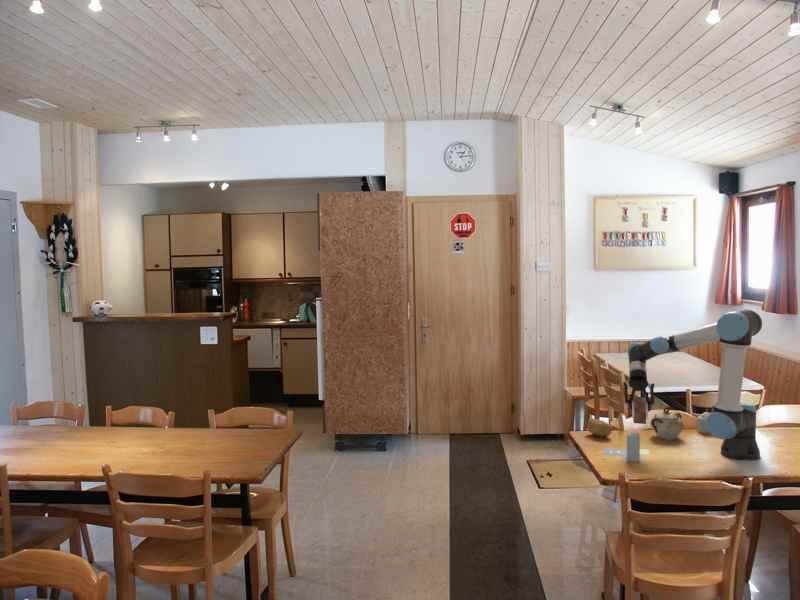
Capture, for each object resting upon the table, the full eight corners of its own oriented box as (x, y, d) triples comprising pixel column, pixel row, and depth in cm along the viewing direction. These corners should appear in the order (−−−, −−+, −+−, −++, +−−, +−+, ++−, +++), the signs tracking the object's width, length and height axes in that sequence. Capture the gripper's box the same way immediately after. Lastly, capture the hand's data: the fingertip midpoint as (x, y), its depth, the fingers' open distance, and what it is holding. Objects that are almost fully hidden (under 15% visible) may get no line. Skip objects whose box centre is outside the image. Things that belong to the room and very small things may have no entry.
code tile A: (625, 449, 281) (625, 449, 281) (626, 456, 271) (626, 456, 271) (602, 448, 284) (602, 447, 284) (602, 455, 274) (602, 454, 274)
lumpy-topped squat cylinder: (729, 433, 304) (729, 415, 304) (706, 435, 301) (706, 417, 301) (714, 427, 314) (714, 410, 314) (692, 429, 312) (692, 412, 311)
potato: (601, 441, 294) (601, 425, 294) (582, 433, 307) (582, 418, 307) (617, 438, 298) (618, 422, 298) (598, 431, 311) (598, 415, 311)
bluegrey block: (638, 458, 268) (638, 433, 268) (639, 461, 264) (639, 436, 263) (626, 457, 270) (626, 432, 269) (627, 460, 265) (627, 435, 264)
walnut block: (645, 421, 278) (645, 396, 277) (645, 423, 273) (646, 399, 273) (633, 420, 280) (633, 396, 279) (633, 423, 275) (634, 398, 274)
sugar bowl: (664, 444, 288) (665, 412, 287) (639, 436, 302) (639, 406, 300) (694, 438, 297) (694, 407, 296) (668, 430, 310) (668, 401, 309)
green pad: (648, 450, 280) (648, 449, 280) (649, 455, 272) (649, 455, 272) (629, 448, 282) (629, 448, 282) (630, 454, 275) (630, 453, 275)
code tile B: (642, 458, 269) (642, 457, 269) (643, 463, 262) (643, 463, 262) (622, 456, 272) (622, 455, 272) (623, 462, 264) (623, 461, 264)
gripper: (658, 378, 287) (661, 422, 273) (617, 376, 293) (618, 419, 278) (659, 369, 282) (662, 413, 267) (617, 367, 287) (618, 411, 273)
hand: (640, 416), depth 273 cm, fingers closed on walnut block, 5 cm apart
